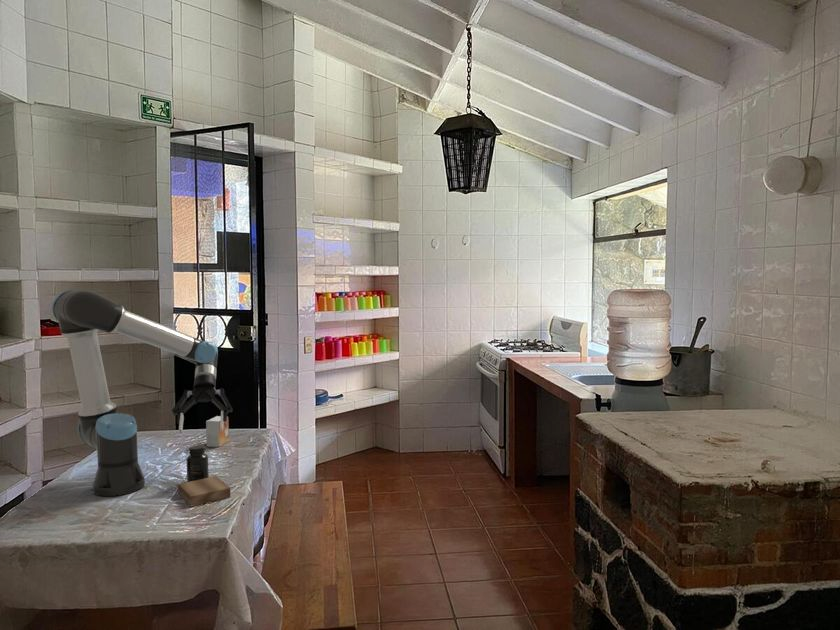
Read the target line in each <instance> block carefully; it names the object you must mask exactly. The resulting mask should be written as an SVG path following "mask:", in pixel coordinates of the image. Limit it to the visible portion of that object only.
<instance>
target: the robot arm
mask: <svg viewBox="0 0 840 630" xmlns="http://www.w3.org/2000/svg"><path fill="white" fill-rule="evenodd" d="M51 312H52V314H53V317H54V318H55V319H56V321H58V325H59V326H58V327H59V330H60V334H61V335H62V336H63V337H65V338H67V342H68V343H67V344H68V347H69V352H70V356H71V357H70V358H71V363H72V366H73V371H74V376H75V379H76V380H75V381H76V385H77V389H78V391H77V392H78V395H79V400H80V404H81V408H80V409H79V411H78V412H77V415H78V420H79V421H78V424H77V433H78V434H77V435H78V436H79V438H80V440H82V442H84V443H85V444H86V445H87V446H90V447H92V448H93V449H95V450H96V453H97V470H96V472H95V477H94V480H93V484H92V493H93V492H94V493H95V494H94V493H93V494H94V495H96V494H98V495H97V496H99V495H103V496H102V497H117V496H116V495H118V496H123V495H122V494H124V495H128V494H131V493H130V492H132V493H134V492H133V491H135V492H136V490H137V491H139V490H141V489H143V487H144V486H145V485H146V483H145V476H144V473H143V471H142V468H141V466H140V464H139V456H138V425H137V420H136V418H135V417H134V416H133V415H131V414H129V413H121V412H120V413H119V411H118V406H117V404H116V403H114V402H113V401H111V398H110V394H109V393H110V392H109V388H108V387H109V386H108V383H107V382H108V381H107V377H106V371H105V368H104V363H103V357H102V352H101V348H100V342H99V337H98V332H99V331H102V332H106V334H107V333H108V334H111V333H114V332H115V333H117V334H120V335H123V336H126V337H127V338H128V337H129V338H131V339H134V340H137V341H139V342H143V343H145V344H147V345H151V346H153V347H156V348H159V349H161V350H164V351H167V352H168V353H169V354H172V355H173V356H176V357H179V358H181V359H183V360H185V361H188V362H190V363H191V364H195V370H194V380H193V381H194V382H193V389H192V390H188V389H184V390H183V393H182V396H181V397H180V398H179V400H178V401H177V402H176V403H175V405H174V407H173V408H172V409H171V411H172V415H173V416H176V423H177V425H178V432H179V433H180V434H183V431H184V429H183V428H184V420H185V416H184V414H186V413H187V412H188V411H189V410H190V409H191V408H192V407H193V406H194V405H197V403H209V402H211V403H212V404H213V405H215V406H216V408H218V409H219V410H220V416H221V421H220V429H221V431H223V423H224V421H227V417H228V414H229V413H232V412H233V406H232V405H231V402H230V401H229V398H227V397H228V396H227V395H226V394H225V390H224V388H223V387H221V388H220V389H216V384H217V368H218V367H217V366H218V358H219V353H218V352H219V350H218V346H217V345H216V343H215V342H212V341H206V340H205V341H204V340H202V339H199V338H196V337H193V336H192V335H189V334H186V333H183V332H182V331H179V330H177V329H174V328H171V327H168V326H167V325H163V324H162V323H158V322H156V321H154V320H151V319H149V318H146V317H144V316H141V315H138V314H136V313H133V312H131V311H129V310H126V309H125V308H124V306H123V305H121V304H120V303H117V302H115V301H113V300H110V299H109V298H106V297H105V296H103V295H100V294H99V293H97V292H94V291H91V290H84V289H82V290H81V289H78V288H75V289H72V288H71V289H69V290H65V291H62V292H61V293H59V294H58V295H57V296H56V297H55V298H54V299H53V301H52V304H51ZM216 395H218V396H219V397H221V400H222V401H223V403H224V404H223V403H221V401H220V400H219V399H218V398H217V397H216ZM190 396H191V397H190ZM188 398H190V399H189V400H188ZM187 400H188V401H187ZM144 484H145V485H144ZM140 488H141V489H140ZM138 489H139V490H138ZM127 493H128V494H127Z"/></svg>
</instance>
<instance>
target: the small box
mask: <svg viewBox="0 0 840 630" xmlns="http://www.w3.org/2000/svg"><path fill="white" fill-rule="evenodd" d="M220 421H221V415H219V416H218V415H216V416H214V417H212V418H210V419H208V420H206V421H205V424H206V425H205V428H206V431H205V432H206V433H205V434H206V446H207V447H212V448H213V447H215V448H220V447H221V446H223V445H225V444H227V443H229V442H230V436H229V435H230V432H229V428H230V427H229V416H227V421H224V423H223V431H221V429H220Z"/></svg>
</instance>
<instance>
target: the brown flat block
mask: <svg viewBox="0 0 840 630" xmlns="http://www.w3.org/2000/svg"><path fill="white" fill-rule="evenodd" d="M177 487H178V488H177V489H178V494H179V495H180V497H182V499H183V500H184V501H186V503H187V504H188V505H189V506H190V507H194V506H198V505H202V504H206V503H210V502H215V501H221V500H224V499H228V498H231V487H230V486H229V485H227V484H226V483H225V482H224V481H223V480H222V479H220V478H219V477H218V476H216V475H215V476H210V477H209V478H205V479H200V480H195V481H191V482H187V481H186V482H182V483H178V484H177ZM227 497H228V498H227Z"/></svg>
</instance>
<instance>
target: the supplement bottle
mask: <svg viewBox="0 0 840 630" xmlns="http://www.w3.org/2000/svg"><path fill="white" fill-rule="evenodd" d="M205 452H206V450H205V446H204V445H199V444H198V445H193V446H190V447H189V448H188V454H189V455H188V456H187V457H186V479H187V481H186V482H191V481H195V480H200V479H205V478H209V476H210V474H209V473H210V471H209V456H208V454H206V453H205Z"/></svg>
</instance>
